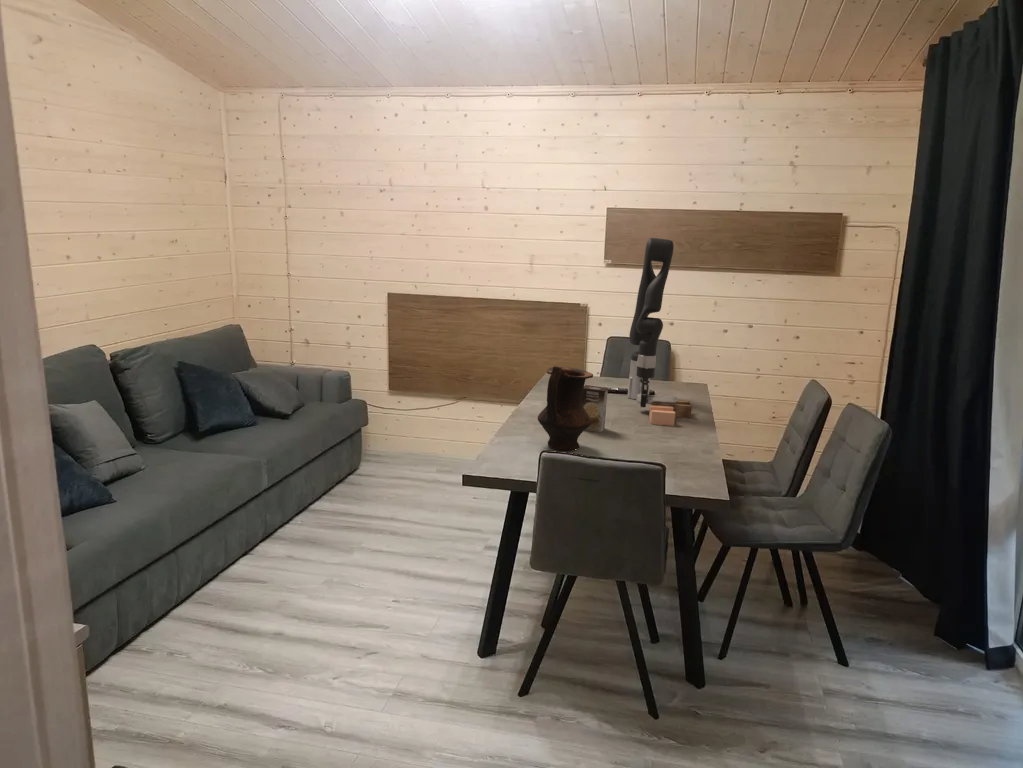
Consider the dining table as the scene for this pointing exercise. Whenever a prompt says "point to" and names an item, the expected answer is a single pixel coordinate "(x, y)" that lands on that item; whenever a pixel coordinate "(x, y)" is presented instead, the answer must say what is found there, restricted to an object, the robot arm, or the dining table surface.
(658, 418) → the terracotta cradle
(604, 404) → the coffee box
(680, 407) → the wooden channel bracket
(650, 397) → the steel axle
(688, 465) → the dining table surface
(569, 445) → the jug
